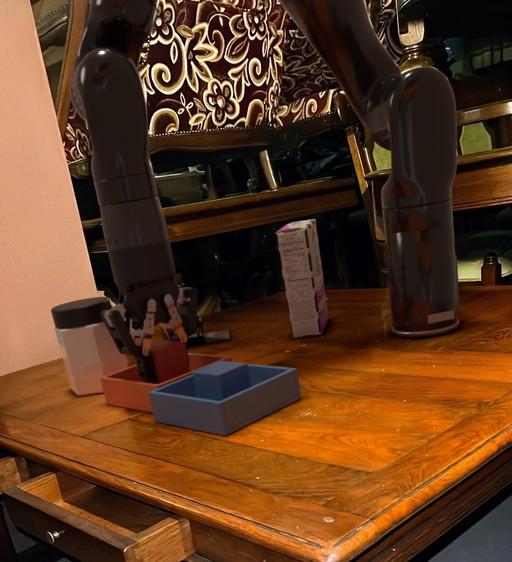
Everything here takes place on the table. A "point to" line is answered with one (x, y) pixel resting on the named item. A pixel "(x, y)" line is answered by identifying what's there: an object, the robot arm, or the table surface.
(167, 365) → the red block
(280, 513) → the table surface
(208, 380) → the blue block
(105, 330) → the jar
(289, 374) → the blue bin
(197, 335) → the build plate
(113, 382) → the terracotta bin
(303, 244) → the candy bar box
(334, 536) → the table surface
